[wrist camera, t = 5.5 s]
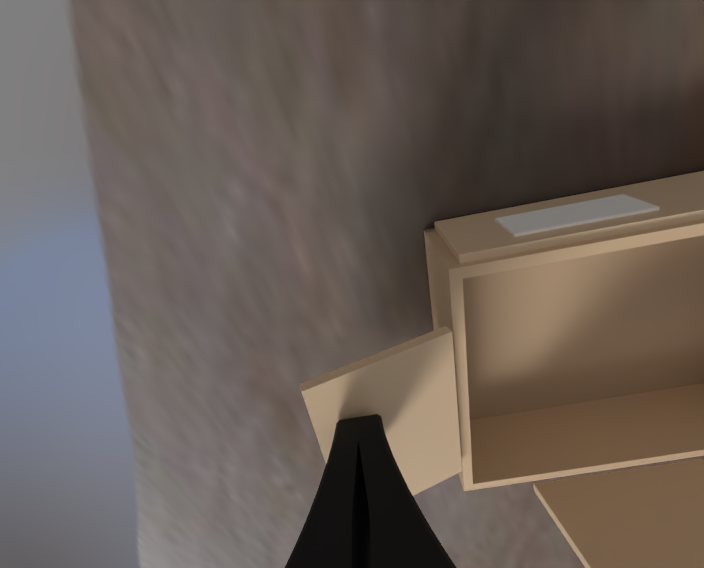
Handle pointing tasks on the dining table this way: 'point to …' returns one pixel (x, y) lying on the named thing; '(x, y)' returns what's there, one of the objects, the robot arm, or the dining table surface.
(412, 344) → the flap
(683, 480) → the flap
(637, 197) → the carton
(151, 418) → the dining table surface
